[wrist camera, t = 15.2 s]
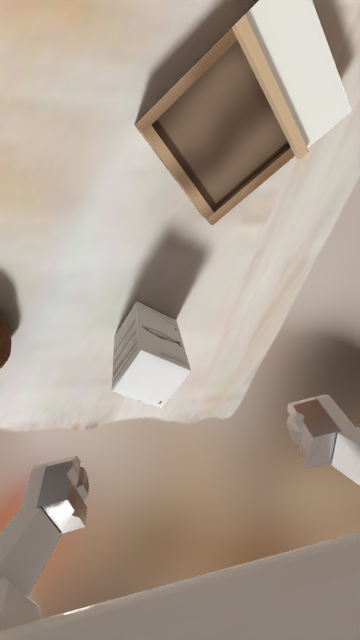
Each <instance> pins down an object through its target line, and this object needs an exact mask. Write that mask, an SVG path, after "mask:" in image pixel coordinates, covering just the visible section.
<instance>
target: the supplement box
mask: <svg viewBox="0 0 360 640" xmlns="http://www.w3.org/2000/svg"><path fill="white" fill-rule="evenodd" d="M190 371H191V369H190V366H189V363H188V359H187V356H186V352H185V349H184V345H183V342H182V338H181V335H180V331H179V328H178V324H177V321H176V320H175V319H173V318H171V317H168V316H166V315H164V314H162V313H160V312H158V311H156V310H154V309H152V308H150V307H148V306H146V305H144V304H142V303H140V302H138V301H136V303H135V304H134V306H133V308H132V309H131V311H130V312H129V314H128V316H127V317H126V319H125V320H124V322H123V323H122V325H121V327H120V328H119V330H118V332H117V333H116V335H115V340H114V358H113V379H112V389H111V391H112V392H114V393H117V394H120V395H123V396H126V397H129V398H132V399H135V400H138V401H141V402H144V403H147V404H150V405H153V406H156V407H159V408H162V407H163V406H164V405H165V403H166V402H167V401H168V400H169V398H170V397H171V396H172V395H173V393H174V392H175V391H176V389H177V388H178V387H179V386H180V384H181V383H182V382H183V381H184V379H185V378H186V377H187V375H188V374H189V373H190Z"/></svg>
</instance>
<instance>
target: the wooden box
mask: <svg viewBox="0 0 360 640" xmlns="http://www.w3.org/2000/svg"><path fill="white" fill-rule="evenodd" d="M258 1H259V0H258ZM258 1H257V2H258ZM257 2H256V3H257ZM256 3H255V4H256ZM255 4H254V5H255ZM254 5H253V6H254ZM253 6H252V7H253ZM252 7H251V8H252ZM251 8H250V9H251ZM250 9H249V10H250ZM249 10H248V11H249ZM248 11H247V12H248ZM247 12H246V13H247ZM246 13H245V14H246ZM245 14H244V15H245ZM244 15H243V16H244ZM243 16H242V17H243ZM242 17H241V18H242ZM241 18H240V19H241ZM240 19H239V20H240ZM135 126H136V127H137V129H138V130H139V131H140V133H141V134H142V135H143V137H144V138H145V139H146V141H147V142H148V143H149V145H150V146H151V147H152V149H153V150H154V151H155V153H156V154H157V155H158V157H159V158H160V159H161V161H162V162H163V163H164V165H165V166H166V168H167V169H168V170H169V172H170V173H171V174H172V176H173V177H174V178H175V180H176V181H177V182H178V184H179V185H180V186H181V188H182V189H183V190H184V192H185V193H186V194H187V196H188V197H189V198H190V200H191V201H192V202H193V204H194V205H195V206H196V208H197V209H198V210H199V212H200V213H201V214H202V216H203V217H204V218H205V219H206V220H207V221H208V222H209V223H210V224H211V225H213V224H215V223H216V222H217V221H218V220H219V219H221V218H222V217H223V216H224V215H225V214H226V213H228V212H229V211H230V210H231V209H232V208H234V207H235V206H236V205H237V204H238V203H239V202H241V201H242V200H243V199H244V198H245V197H247V196H248V195H249V194H250V193H251V192H252V191H254V190H255V189H256V188H257V187H258V186H260V185H261V184H262V183H263V182H264V181H265V180H267V179H268V178H269V177H270V176H271V175H273V174H274V173H275V172H276V171H277V170H278V169H280V168H281V167H282V166H283V165H284V164H286V163H287V162H288V161H289V160H290V159H291V158H293V157H294V156H295V155H294V153H293V151H292V149H291V147H290V145H289V142H288V140H287V138H286V136H285V134H284V132H283V130H282V128H281V126H280V124H279V122H278V120H277V118H276V116H275V114H274V112H273V110H272V108H271V106H270V104H269V102H268V100H267V98H266V96H265V94H264V92H263V90H262V88H261V86H260V84H259V82H258V80H257V78H256V76H255V74H254V72H253V70H252V68H251V66H250V64H249V62H248V60H247V58H246V56H245V54H244V52H243V49H242V47H241V45H240V43H239V41H238V39H237V37H236V35H235V33H234V31H233V29H232V28H231V29H230V30H229V31H228V32H227V33H226V34H225V35H224V36H223V37H222V38H221V39H220V40H219V41H218V42H217V43H216V44H215V45H214V46H213V47H212V48H211V49H210V50H209V51H208V52H207V53H206V54H205V55H204V56H203V57H202V58H201V59H200V60H199V61H198V62H197V63H196V64H195V65H194V66H193V67H192V68H191V69H190V70H189V71H188V72H187V73H186V74H185V75H184V76H183V77H182V78H181V79H180V80H179V81H178V82H177V83H176V84H175V85H174V86H173V87H172V88H171V89H170V90H169V91H168V92H167V93H166V94H165V95H164V96H163V97H162V98H161V99H160V100H159V101H158V102H157V103H156V104H155V105H154V106H153V107H152V108H151V109H150V110H149V111H148V112H147V113H146V114H145V115H144V116H143V117H142V118H141V119H140V120H139V121H138V122H137V123H136V124H135Z"/></svg>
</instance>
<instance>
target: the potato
mask: <svg viewBox="0 0 360 640" xmlns="http://www.w3.org/2000/svg"><path fill="white" fill-rule="evenodd" d="M10 352H11V336H10V331H9V328H8V325H7V323H6V322H5V320H4V318H3V317H2V315H1V314H0V368H2V367H3V365H4V364H5V363H6V361H7V360H8V358H9V356H10Z"/></svg>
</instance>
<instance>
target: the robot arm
mask: <svg viewBox="0 0 360 640" xmlns="http://www.w3.org/2000/svg"><path fill="white" fill-rule="evenodd" d="M288 412H289V414H290V415H289V416H288V418H287V426H288V430H289V433H290V435H291V437H292V439H293V441H294V442H295V443H296V444H298V445H299V446H301V448H300V453H301V455H302V457H303V458H304V460H305V462H306V464H307V465H308V467H309V468H314V467H319V466H323V465H327V464H332V466H334V467H335V468H336V469H338V470H339V471H341V472H342V473H343V474H345V475H346V476H347V477H349V478H350V479H352V480H353V481H354V482H356V483H357V484H358V485H360V427H357V428H355V426H354V425H353V424H352V423H351V422H350V420H349V419H348V418H347V417H346V415H345V414H344V413H343V412H342V411H341V409H340V408H339V407H338V406H337V405H336V403H335V402H334V401H333V400H332V399H331V397H330V396H329V395H322V396H318V397H314V398H313V397H312V398H309V399H305V400H301V401H297V402H293V403H289V405H288ZM88 491H89V482H88V476H87V472H86V470H85V469H84V468H82V467H80V460H79V458H78V456H75V457H71V458H66V459H61V460H57V461H52V462H48V463H44V464H39V465H36V466H34V467H33V469H32V471H31V474H30V478H29V482H28V486H27V489H26V493H25V496H24V500H23V504H22V507H21V511H20V513H17V514H15V516H14V517H13V518H12V519H11V521H10V522H9V523H8V525H7V526H6V527H5V528H4V530H3V531H2V532H1V534H0V640H360V532H357V533H353V534H350V535H346V536H342V537H339V538H335V539H331V540H328V541H324V542H321V543H317V544H314V545H310V546H306V547H303V548H299V549H295V550H291V551H288V552H285V553H281V554H277V555H273V556H270V557H266V558H263V559H259V560H255V561H251V562H248V563H244V564H241V565H237V566H233V567H230V568H226V569H223V570H219V571H215V572H212V573H208V574H204V575H200V576H197V577H193V578H189V579H186V580H182V581H179V582H175V583H172V584H168V585H164V586H161V587H157V588H153V589H149V590H146V591H142V592H139V593H135V594H131V595H128V596H124V597H120V598H117V599H113V600H110V601H106V602H102V603H99V604H95V605H91V606H88V607H84V608H81V609H77V610H73V611H70V612H66V613H63V614H59V615H55V616H51V617H48V618H44V619H41V620H39V619H40V612H41V609H40V607H39V606H38V605H37V604H36V603H35V602H34V601H32V600H31V599H30V598H29V597H28V596H29V594H30V592H31V590H32V588H33V586H34V584H35V583H36V581H37V579H38V577H39V576H40V574H41V572H42V570H43V568H44V567H45V565H46V563H47V561H48V559H49V557H50V556H51V554H52V552H53V550H54V548H55V546H56V545H57V543H58V541H59V539H60V537H61V536H62V535H61V534H62V533H65V532H69V531H72V530H76V529H79V528H82V527H85V525H86V514H87V506H86V504H85V503H84V500H85V499H86V497H87V496H88Z"/></svg>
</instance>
